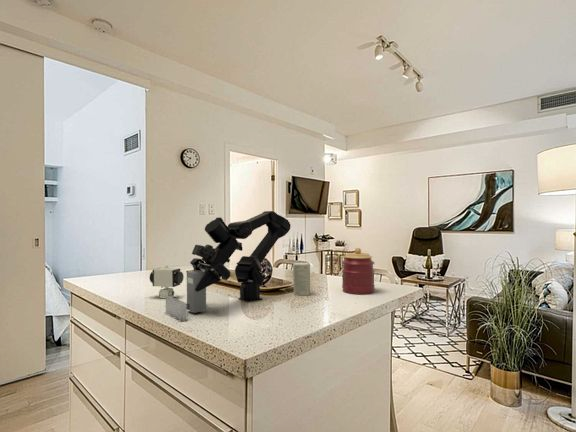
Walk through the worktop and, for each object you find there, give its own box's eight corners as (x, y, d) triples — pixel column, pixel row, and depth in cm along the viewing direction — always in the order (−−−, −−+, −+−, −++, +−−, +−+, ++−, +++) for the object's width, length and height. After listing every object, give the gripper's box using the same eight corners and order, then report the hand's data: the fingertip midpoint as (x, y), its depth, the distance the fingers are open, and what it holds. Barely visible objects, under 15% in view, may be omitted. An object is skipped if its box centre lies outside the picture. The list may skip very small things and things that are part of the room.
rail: (174, 310, 107) (174, 295, 107) (190, 319, 97) (190, 302, 97) (165, 312, 105) (165, 296, 105) (181, 321, 95) (181, 304, 95)
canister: (341, 294, 129) (340, 249, 130) (343, 287, 142) (342, 246, 142) (375, 295, 127) (374, 249, 127) (374, 288, 139) (373, 246, 140)
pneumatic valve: (177, 299, 122) (177, 267, 122) (149, 298, 124) (149, 266, 124) (185, 296, 127) (184, 265, 128) (157, 295, 130) (157, 264, 130)
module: (198, 306, 108) (198, 270, 108) (206, 310, 104) (205, 272, 104) (186, 309, 106) (186, 271, 106) (194, 312, 101) (193, 273, 102)
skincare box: (310, 293, 131) (310, 262, 131) (309, 295, 127) (308, 264, 127) (294, 292, 132) (294, 262, 132) (292, 295, 128) (292, 263, 128)
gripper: (195, 234, 115) (163, 269, 108) (221, 236, 100) (186, 277, 93) (216, 255, 120) (187, 290, 113) (243, 260, 105) (212, 300, 98)
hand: (192, 289), depth 104 cm, fingers closed on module, 5 cm apart
